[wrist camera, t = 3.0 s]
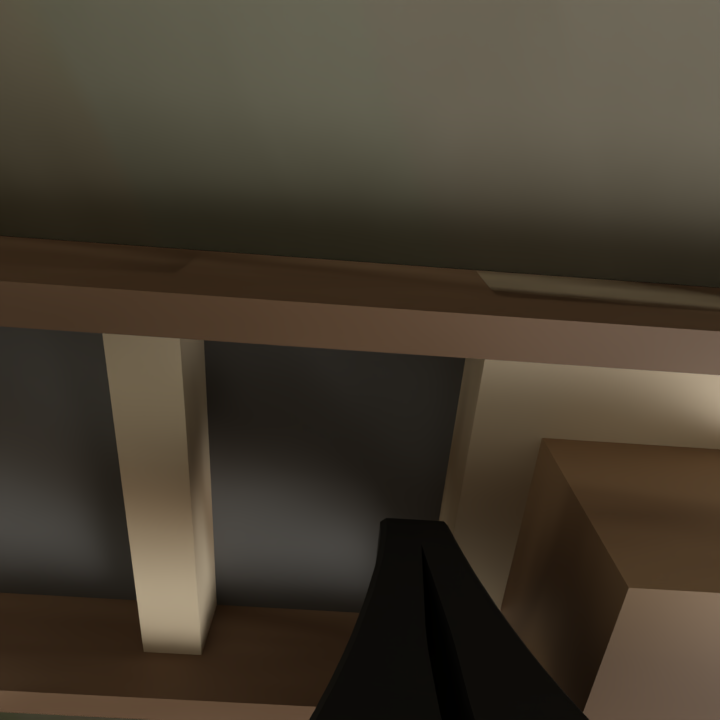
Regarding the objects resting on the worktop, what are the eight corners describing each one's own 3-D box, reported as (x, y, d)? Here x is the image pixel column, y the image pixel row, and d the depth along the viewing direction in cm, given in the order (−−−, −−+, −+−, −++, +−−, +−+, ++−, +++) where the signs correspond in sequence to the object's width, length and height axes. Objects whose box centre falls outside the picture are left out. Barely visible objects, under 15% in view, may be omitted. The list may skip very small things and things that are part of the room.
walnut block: (698, 621, 13) (824, 807, 10) (499, 609, 13) (553, 795, 10) (773, 453, 11) (968, 607, 8) (542, 437, 11) (629, 587, 8)
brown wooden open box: (928, 652, 17) (1114, 825, 12) (-48, 598, 16) (-192, 762, 12) (1166, 319, 12) (1574, 417, 8) (-168, 223, 12) (-463, 277, 7)
